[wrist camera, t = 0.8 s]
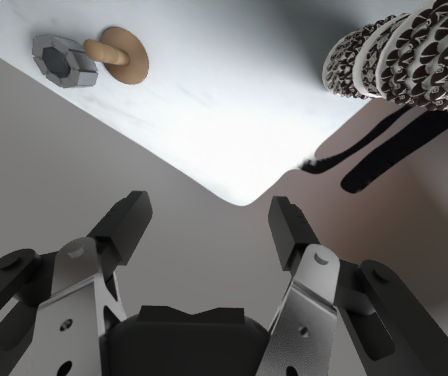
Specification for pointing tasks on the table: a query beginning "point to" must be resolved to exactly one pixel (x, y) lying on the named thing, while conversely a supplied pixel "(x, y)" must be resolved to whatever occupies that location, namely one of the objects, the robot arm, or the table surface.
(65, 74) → the ring
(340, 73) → the decorative candle
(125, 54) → the wooden peg stand
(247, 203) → the table surface
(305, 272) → the robot arm
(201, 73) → the table surface
